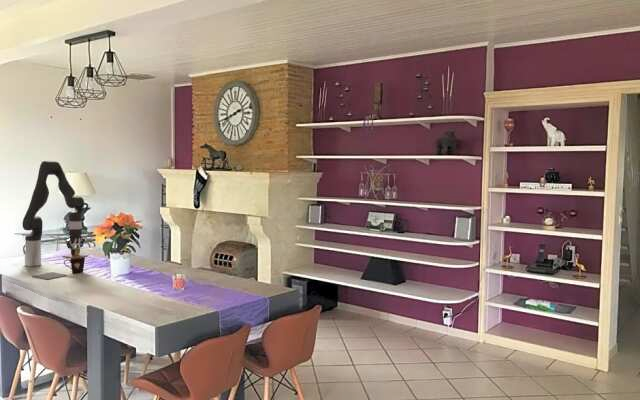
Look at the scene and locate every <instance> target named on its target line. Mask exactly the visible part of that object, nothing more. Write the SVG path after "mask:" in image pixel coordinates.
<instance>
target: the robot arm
mask: <svg viewBox="0 0 640 400" xmlns="http://www.w3.org/2000/svg"><path fill="white" fill-rule="evenodd" d="M49 175H53V176H56V178H57V179H58V180H57V181H58V186H57V187H58V189H59V191H60V193H61V194H62V195H63V198H64V201H65V204H66V206H67V207H68V208H70V209H74V210H73V211H70V212H69V218H68V219H69V220H68V221H69V222H68V239H67V240H65V245H66V247H67V249H69V250H70V254H71V255H75V249H74V248H75V247H78V248H79V254H81V248H83V247H84V244H85V241H86V238H85V237H82V235H83V233H82V232H83V224H82V223H83V222H82V215H83V210H84V208H85V200H84V198H83V197H82V196H75V195H76V191H75V189H74V188H73V187H72V185H71V184H70V183H69V181H68V179H67V177H66V174H65V171H64V170H63V168H62V166H61V164H60V163H59V162H58V161H57V160H42V162H41V163H40V165H39V170H38V174H37V180H36V183H35V187H34V190H33V192H32V196H31V199H30V203H29V205H28V207H27V210H26V212H25V215H24V216H23V219H22V228H23V230H24V231H31V232H30V233H29V234H27V235H26V236H25V251H24V265H25V266H26V267H37V266H41V265H42V235H43V220H42V217H41V216H39V215H37V213H39V211H40V210H41V209H42V208H43V207H44V206H45V205H46V203H47V201H48V198H49V196H50V190H49V188H48V185H47V179H48V176H49Z"/></svg>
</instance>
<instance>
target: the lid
mask: <svg viewBox="0 0 640 400" xmlns="http://www.w3.org/2000/svg"><path fill="white" fill-rule="evenodd" d="M74 249H75V255H71V253H70V254H64V255H62V256H61V257H62V258H65V259H69V260H71V259H78V258H84V257H85V258H88V257H90V254H85V253H84V254H83V253H79V248H78V247H76V246H75V248H74Z"/></svg>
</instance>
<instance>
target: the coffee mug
mask: <svg viewBox="0 0 640 400" xmlns="http://www.w3.org/2000/svg"><path fill="white" fill-rule="evenodd" d="M85 260H86V257H84V258H78V259H69V258H66V259H65V260H64V261H63V264H64V265H65V266H66V267H67V268H69V269H71V273H72V274H73V275H76V274H82V273H84V267H85ZM67 261H69V263H70V265H69V266H68V265H67V264H66V262H67Z"/></svg>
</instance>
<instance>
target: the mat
mask: <svg viewBox="0 0 640 400" xmlns="http://www.w3.org/2000/svg"><path fill="white" fill-rule="evenodd" d="M31 277H32V278H35V279H41V280H46V281H49V280H53V279H58V278H63V277H68V274H66V273H59V272H53V271H51V272H47V273H41V274H37V275H32V276H31Z"/></svg>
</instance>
